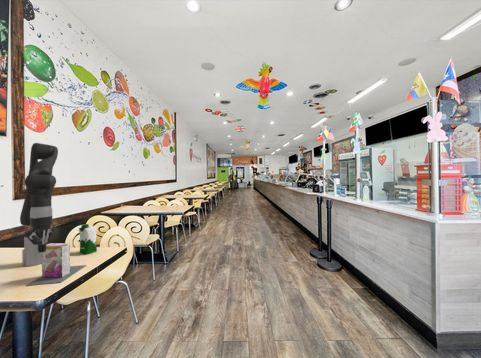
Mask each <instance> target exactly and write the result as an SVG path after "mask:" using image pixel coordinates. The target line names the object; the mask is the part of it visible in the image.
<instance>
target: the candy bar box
mask: <svg viewBox="0 0 481 358" xmlns="http://www.w3.org/2000/svg"><path fill="white" fill-rule="evenodd" d="M70 247H71V245H70V243H65V242H64V243H58V242H57V243H54V242H53V243H51V242H50V243H46V251H45V252H42V263H41V267H42V268H41V271H42V272H41V276H42V277H52V278H62V277H64V276H66V275H68V274H70V266H71V248H70Z"/></svg>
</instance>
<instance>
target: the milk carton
mask: <svg viewBox="0 0 481 358" xmlns="http://www.w3.org/2000/svg"><path fill="white" fill-rule="evenodd" d="M97 230H98V226H97V225H89V224H88V223H87V224H86V223H85V224H81V226H80V227H78V233H79V254H80V255H86V256H87V255H90V254H92V253H95V252H98V245H97Z"/></svg>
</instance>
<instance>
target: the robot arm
mask: <svg viewBox="0 0 481 358" xmlns="http://www.w3.org/2000/svg"><path fill="white" fill-rule="evenodd" d="M58 155H59V149H58V147H57V146H55V145H51V144H45V143H41V142H34V143H33V144H32V145H31V149H30V157H29V158H30V159H29V170H28V175H26V177H25V179H24V186H25V193H24V194H25V195H24V201H23V204H22V208H21V211H20V217H19V222H20V224H21V226H30V229H28V230H27V231H25V232H24V233H23V237H24V238H23V241H24V243H23V248H24V249H22V250H21V254H22V255H21V256H22V257H21V259H22V260H21V261H22V266H24V267H30V266H31V267H32V266H36V265H42V252H45V251H46V245H47V244H48V242H49V241H51V240H52V237H53V235H54V233H55V229H52V226H51V225H53V206H52V205H53V204H52V196H53V192H54V190H55V186H56V183H57V179H56V177H55V176H54V175H53V169H54V165H55V164H56V161H57V160H58Z"/></svg>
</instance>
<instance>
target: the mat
mask: <svg viewBox="0 0 481 358" xmlns="http://www.w3.org/2000/svg"><path fill="white" fill-rule="evenodd" d="M86 267H87V264H81V265H72V266H71V265H70V274H68V275H66V276H64V277H62V278H52V277H42V275H41V276H39V277H37V278H36V279H34V280H32V281H30V282H29V283H27V284H25V287H31V286H40V285H52V284H61V283H63V282H64V281H66V280H67V279H69V278H70V277H72V276H73V275H75V274H76V273H78V272H79V271H81V270H82V269H84V268H86Z"/></svg>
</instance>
